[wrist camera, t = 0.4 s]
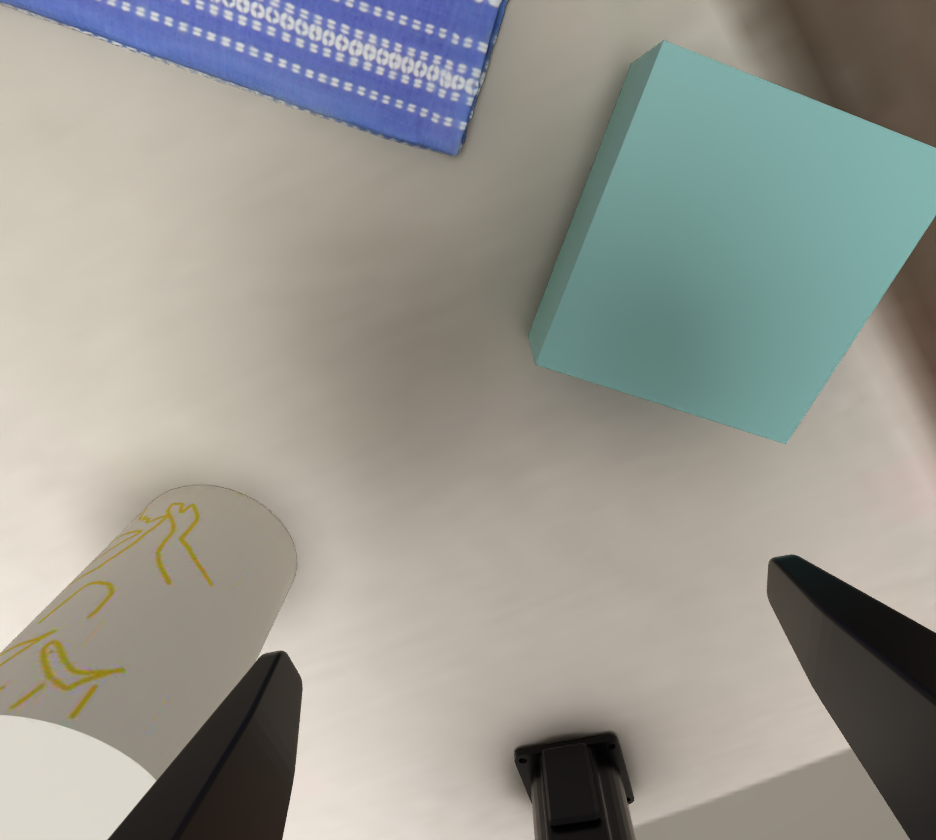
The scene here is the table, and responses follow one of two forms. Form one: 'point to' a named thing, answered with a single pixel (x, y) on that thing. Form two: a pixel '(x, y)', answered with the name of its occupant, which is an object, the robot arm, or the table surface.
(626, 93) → the teal plinth
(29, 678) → the cup
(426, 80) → the dish towel
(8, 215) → the table surface
